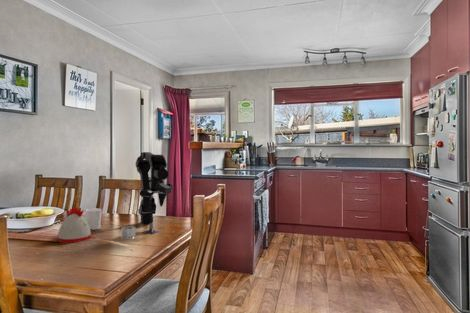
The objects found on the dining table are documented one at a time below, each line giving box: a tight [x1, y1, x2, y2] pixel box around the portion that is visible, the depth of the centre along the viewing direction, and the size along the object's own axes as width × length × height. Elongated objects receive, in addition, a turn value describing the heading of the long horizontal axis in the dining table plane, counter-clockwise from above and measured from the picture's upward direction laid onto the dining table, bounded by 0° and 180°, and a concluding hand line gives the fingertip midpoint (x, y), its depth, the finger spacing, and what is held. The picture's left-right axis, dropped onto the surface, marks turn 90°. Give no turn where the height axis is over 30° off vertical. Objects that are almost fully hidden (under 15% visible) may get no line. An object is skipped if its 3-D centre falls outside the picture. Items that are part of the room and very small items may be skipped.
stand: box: [140, 222, 161, 236], centre depth 154 cm, size 7×7×6 cm
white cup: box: [85, 208, 103, 231], centre depth 162 cm, size 8×8×10 cm
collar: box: [120, 225, 136, 240], centre depth 144 cm, size 6×6×4 cm
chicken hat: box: [57, 206, 92, 244], centre depth 143 cm, size 14×14×15 cm
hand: (155, 207), depth 160 cm, fingers open, 9 cm apart
